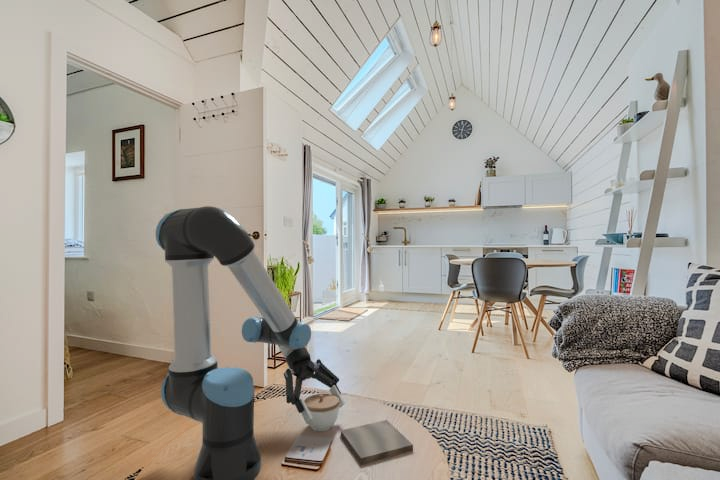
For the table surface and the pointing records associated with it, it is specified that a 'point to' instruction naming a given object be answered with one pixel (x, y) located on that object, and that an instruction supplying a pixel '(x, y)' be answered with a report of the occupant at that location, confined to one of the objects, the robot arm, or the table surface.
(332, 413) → the lidded jar
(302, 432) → the table surface
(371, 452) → the brown metal plate
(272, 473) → the table surface
